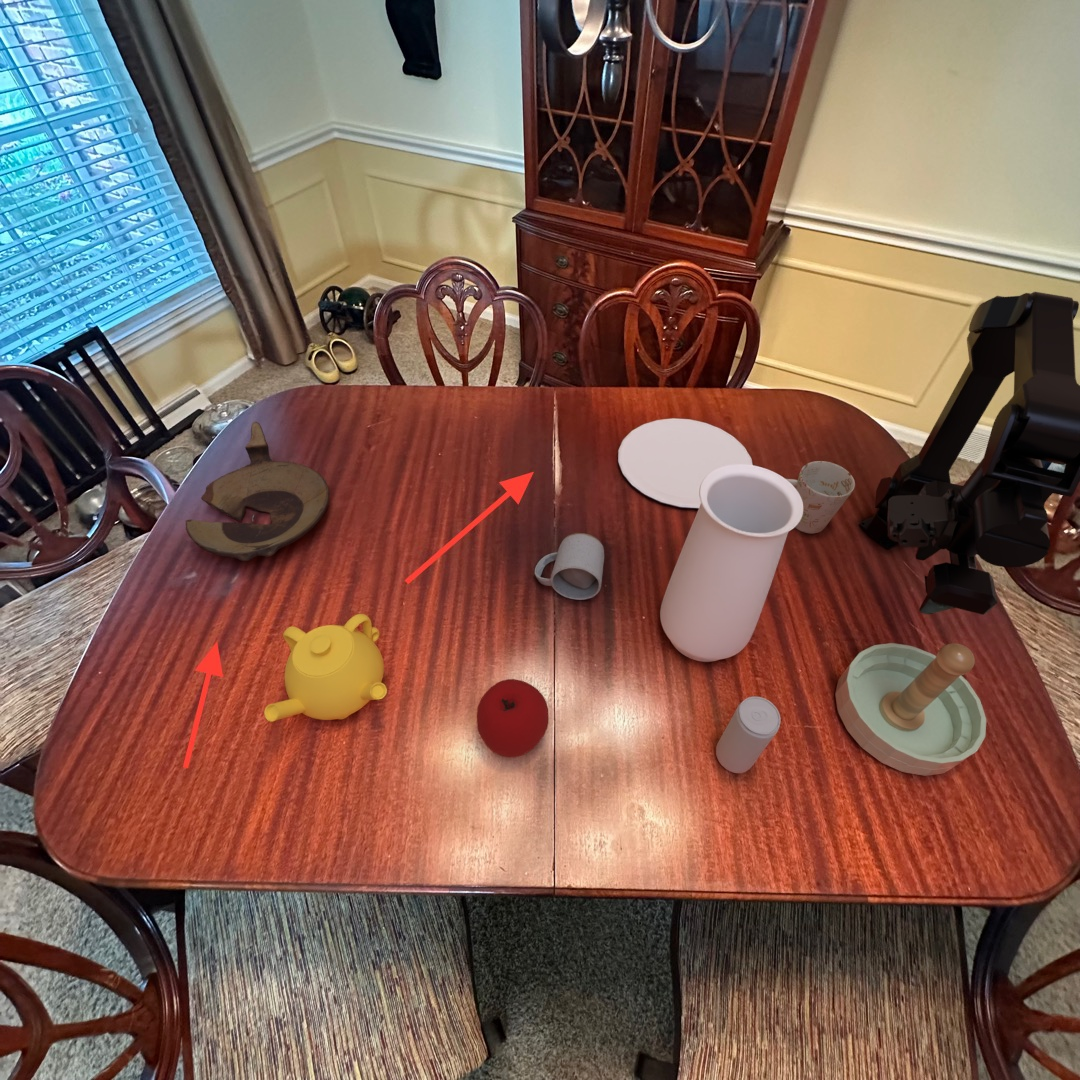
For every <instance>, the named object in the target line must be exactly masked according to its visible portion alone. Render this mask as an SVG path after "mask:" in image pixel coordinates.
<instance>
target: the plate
mask: <svg viewBox="0 0 1080 1080" xmlns="http://www.w3.org/2000/svg"><path fill="white" fill-rule="evenodd" d="M617 454H618V455H617V458H618V459H617V464H618V466H619V468H620V471H621V473H622V475H623V476H624V478H625V479H626V480H627V481H628V483H629V484H630V485H631V487H633V488H635V490H637V491H638V492H640V493H641V494H642V495H644V496H646V497H648V498H650V499H652V500H654V501H657V502H659V503H661V504H664V505H667V506H673V507H677V508H679V509H680V508H681V509H695V510H696V509H697V510H698V509H699V507H700V505H701V501H700V497H699V489H700V485H701V483H702V481H703V480H704V478H705V477H706V476H707V475H708V474H709V473H711V472H712V471H714V470H716V469H718V468H721V467H724V466H728V465H735V464H745V465H753V466H754V464H753V460H752V457H751V455H750V454H749V451H747V449H746V447H745V446H744V444H742V443H741V442H740V441H739V440H738V439H737V438H736V437H734V436H733V435H731V434H730V433H728V432H727V431H725V430H723V429H721V428H720V427H717V426H715V425H712V424H710V423H707V422H703V421H699V420H695V419H691V418H663V419H656V420H653V421H650V422H646V423H643V424H641V425H639V426H638V427H636V428H634V429H632V430H631V431H630V432H628V434H627V435H626V436H624V438H623V439H622V441H621V443H620V446H619V448H618V450H617Z"/></svg>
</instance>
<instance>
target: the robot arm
mask: <svg viewBox="0 0 1080 1080" xmlns="http://www.w3.org/2000/svg"><path fill="white" fill-rule="evenodd" d="M1079 305H1080V303H1079V301H1078V300H1074V299H1073V297H1069V296H1064V295H1059V294H1052V293H1046V292H1040V291H1033V292H1031V293H1030V292H1024V293H1023V294H1020V295H1014V296H1012V295H1011V296H1002V295H996V296H994V297H992V298H990V299H988V300H986V301H983V302H981V303H980V304H979V305H978V307H977V308H976V310H975V311H974V313H973V315H972V317H971V321H970V322H969V327H968V332H969V333H968V335H967V337H966V345H967V353H968V362H967V364H966V367H965V369H964V370H963V372H962V374H961V376H960V378H959V379H958V381H957V383H956V385H955V386H954V388H953V390H952V391H951V394H950V396H949V398H948V399H947V402H946V403H945V405H944V407H943V409H942V410H941V412H940V414H939V416H938V418H937V420H936V422H935V423H934V425H933V428H932V429H931V431H930V433H929V435H928V437H926V440H925V442H924V443H923V445H922V447H921V449H920V451H919V452H918V453H917V454H915V455H914V456H912V457H910V458H909V459H907V460H905V461H903V462H901V463H900V464H899V466H898V467H897V468H896V470H895V472H894V474H893V475H892V476H888V477H887V476H886V477H884V478H881V479H880V480H879V482H878V485H877V487H876V489H875V496H874V499H875V500H874V509H877V510H876V512H875V513H874V515H873V516H871V517H869V518H866V519H864V520H861V521H859V523H858V526H859V527H860V529H862V530H863V531H864V532H865V533H866V534H867V535H868V536H870V537H871V538H872V539H873V540H874V541H876V543H878V544H879V545H880V546H881V547H882V548H883V549H884V550H886V551H890V550H892V549H895V548H896V547H899V546H900V547H902V548H916V551H915V556H914V557H915V559H916V560H918V561H925V560H927V559H929V558H931V557H932V556H934V555H935V554H937V553H938V552H939V551H941V550H947V551H948V554H949V562H947V561H946V562H941V563H938V564H937V563H936V564H933V565H932V566H931V568H930V569H929V570H928V573H927V575H924V586H925V593H926V595H925V597H924V599H923V601H922V602H921V605H920V607H919V613H921V614H925V615H933V614H936V613H940V612H944V611H947V610H951V609H959V610H963V611H966V612H970V613H975V614H979V615H982V616H983V615H985V614H988V613H989V612H990V611H991V610H992V609H993V608H994V607H995V606H996V605H997V604H998V598H997V591H996V586H995V581H994V578H993V576H992V575H991V573H990V572H988V571H984V570H982V569H981V570H980V569H978V567H977V560H976V556H977V555H978V557H979V558H980V559H981V560H982V561H984V562H985V563H988V564H990V565H992V566H996V567H1000V568H1023V567H1026V566H1031V565H1033V564H1036V563H1038V562H1040V561H1041V560H1042V559H1044V558H1045V557H1046V556H1047V555H1049V551H1050V549H1051V539H1050V534H1049V533H1050V532H1049V527H1048V521H1049V517H1048V511H1047V510H1046V507H1045V504H1046V502H1047V501H1048V499H1049V498H1050V497H1051V496H1052V495H1053V494H1055V495H1059V496H1062V497H1063V496H1064V497H1067V498H1072V497H1073V496H1074V494H1075V492H1076V490H1077V488H1078V485H1079V483H1080V384H1079V383H1078V382H1077V377H1076V376H1077V375H1076V355H1075V354H1076V353H1075V352H1076V351H1075V332H1074V331H1075V330H1074V329H1075V328H1074V320H1075V318H1076V316H1077V314H1078V312H1079V311H1078V310H1079ZM1011 374H1013V396H1012V397H1011V398H1010V399H1009V400H1008V402H1007V403H1006V404H1004V406H1002V408H1001V409H1000V410H999V412H998V414H997V415H996V416H995V419H994V421H993V424H992V426H991V431H990V434H989V438H988V441H987V444H986V448H985V451H984V455H983V457H982V459H981V461H980V462H979V463H978V464H977V466H976V467H975V468H974V470H973V472H972V473H971V475H970V476H969V477H968V478H967V480H966V481H965V483H964V484H963V485H960V484H956V483H952V481H951V475H950V471H951V469H952V467H953V465H954V464H955V462H956V461H957V459H958V457H959V455H960V454H961V452H962V450H963V448H964V447H965V445H966V443H967V442H968V440H969V438H970V437H971V435H972V433H973V431H974V430H975V429H976V427H977V425H978V423H979V422H980V420H981V418H982V416H983V415H984V414H985V412H986V410H987V408H988V407H989V405H990V403H991V402H992V400H993V398H994V397H995V395H996V393H997V392H998V390H999V388H1000V386H1001V385H1002V383H1003V381H1004V380H1005V378H1006V377H1008V376H1009V375H1011ZM1042 462H1047V463H1051V464H1055V465H1060V466H1064V465H1065V466H1064V470H1063V471H1058V470H1053V469H1050V468H1045V467H1043V463H1042Z"/></svg>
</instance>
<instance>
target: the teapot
mask: <svg viewBox="0 0 1080 1080" xmlns="http://www.w3.org/2000/svg"><path fill="white" fill-rule="evenodd" d="M361 624H362V631H360V630H358V629H357V627H358V626H360V625H361ZM372 625H373V624H372V620H371V618H370V617H369V616H368V615H366V614H365V613H358V614H355V615H353V616H352V617H350V618H349V619H348V620H347V621H346V623H345V624H344V625H337V624H328V625H327V624H326V625H322V626H319V627H315V628H313V629H311V630H310V631H308V632H307V633H306V632H305V631H304V630H302V629H300V628H298V627H296V626H289V627H287V628H286V629H285V630H284V631H283V633H282V637H283V638H282V639H284V641H285V643H286V644H287V645H288V646H289V647H288V649H289V651H290V654H289V656H288V658H287V661H286V664H285V668H284V686H285V687H284V688H285V691H286V694H287V696H288V699H285V700H281V701H277V702H273V703H269V704H267V705H266V706H265V709H264V711H263V712H264V717H265V719H266V720H267V721H268V722H276V721H278V720H283V719H287V718H290V717H293V716H297V715H301V714H303V715H304V716H306V717H309V718H312V719H316V720H320V721H332V720H345V719H347V718H348V717H349V716H350V715H352V714H354V713H357V711H359V710H361V709H362V708H363V707H364V706H366V705H367V704H368V703H369V702H370V701H374V700H382V699H384V697H385V696H387V692H388V689H387V685H385V684H384V683H383V682H382V681H383V678H384V674H385V662H384V658H383V655H382V653H381V651H380V649H379V647H378V646H377V644H376V642H377V641H378V639H379V638H380V635H381V633H380V630H379V629H378V628H377V627H375V626H372Z"/></svg>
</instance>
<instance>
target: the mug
mask: <svg viewBox="0 0 1080 1080" xmlns="http://www.w3.org/2000/svg"><path fill="white" fill-rule="evenodd" d="M785 479H786V480H787V481H789V482H790V483H791V484H792V485H793V486H794V487H795V489H796V490H797V491H798V493H799V495H800V497H801V499H802V502H803V515H802V518H801V520H800V522H799V523H798V524H797V526H796V527H794V529H796V530H798V531H800V532H802V533H806V534H818V533H821V532H822V531H823V530H825V528H826V527H827V526H828V524H829V523H830V522H831V521H832V519H833V518H834V517H835V515H836V514H837V513H838V511H839V510H840V509H841V507H843V505H844V504H845V502H846V501H847V500H848V499H849V497H850V496H851V495H852V493H853V492H854V490H855V487H856V482H855V479H854V476H853V475H852V474H851V473H850V471H848V470H847V469H846V468H844V467H842V466H841V465H839V464H838V463H837V464H836V463H834V462H830V461H826V460H824V461H823V460H816V461H811V462H808V463H806V464H804V465H803V466H802V468H801V469H800V471H799V475H798V478H797V479H794V478H793V479H792V478H785Z"/></svg>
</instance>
